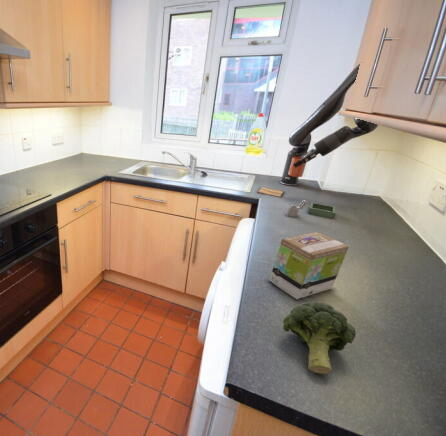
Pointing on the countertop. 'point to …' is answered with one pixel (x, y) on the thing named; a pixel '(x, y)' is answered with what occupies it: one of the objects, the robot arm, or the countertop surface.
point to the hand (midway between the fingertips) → (294, 164)
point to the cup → (298, 170)
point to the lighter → (295, 209)
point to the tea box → (307, 264)
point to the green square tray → (322, 210)
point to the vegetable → (320, 332)
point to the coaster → (270, 192)
